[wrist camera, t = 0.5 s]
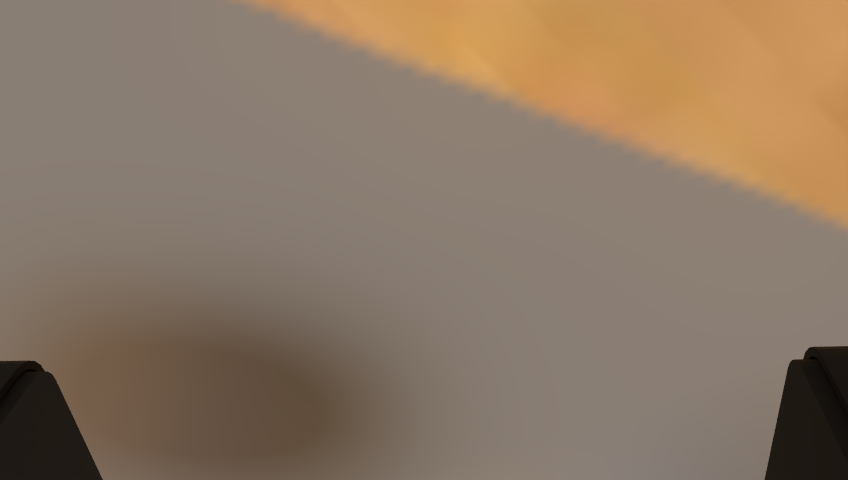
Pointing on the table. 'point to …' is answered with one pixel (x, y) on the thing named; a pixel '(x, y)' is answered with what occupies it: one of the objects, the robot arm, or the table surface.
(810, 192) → the table surface
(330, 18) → the table surface
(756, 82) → the table surface
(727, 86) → the table surface
